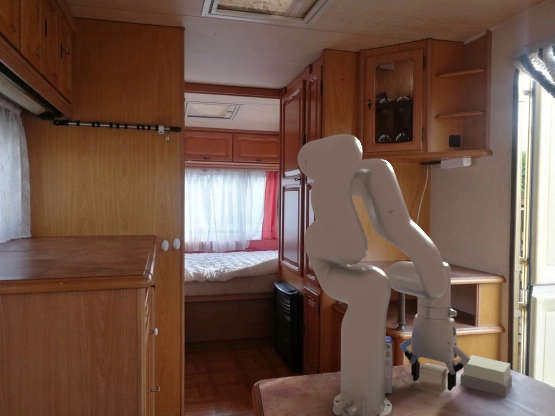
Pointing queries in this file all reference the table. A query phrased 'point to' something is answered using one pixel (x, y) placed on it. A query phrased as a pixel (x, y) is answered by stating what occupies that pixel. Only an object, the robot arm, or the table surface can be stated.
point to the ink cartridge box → (388, 365)
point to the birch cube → (432, 378)
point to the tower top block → (487, 369)
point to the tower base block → (486, 385)
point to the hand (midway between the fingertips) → (433, 383)
